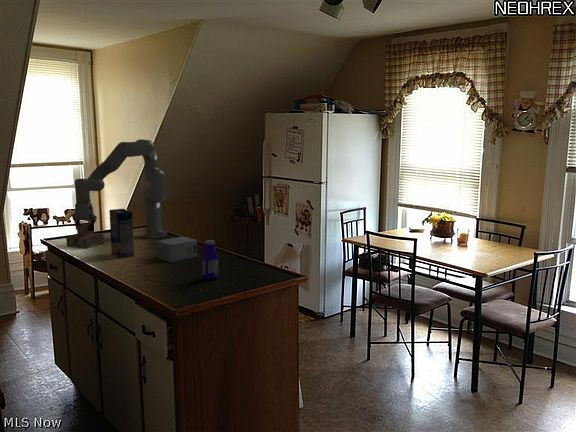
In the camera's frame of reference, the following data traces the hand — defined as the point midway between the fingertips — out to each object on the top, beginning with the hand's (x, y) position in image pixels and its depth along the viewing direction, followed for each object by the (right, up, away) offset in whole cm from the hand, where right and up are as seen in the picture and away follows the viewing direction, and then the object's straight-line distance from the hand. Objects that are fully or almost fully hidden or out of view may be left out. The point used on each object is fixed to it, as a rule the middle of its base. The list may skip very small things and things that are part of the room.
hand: (84, 230), depth 298 cm
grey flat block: (0, -9, +2) cm, 9 cm away
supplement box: (+58, -14, -24) cm, 64 cm away
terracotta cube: (0, -3, 0) cm, 3 cm away
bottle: (+81, -20, -62) cm, 104 cm away
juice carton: (+28, -13, -21) cm, 38 cm away
